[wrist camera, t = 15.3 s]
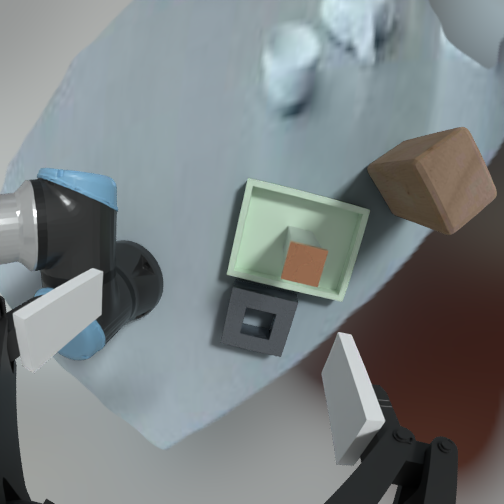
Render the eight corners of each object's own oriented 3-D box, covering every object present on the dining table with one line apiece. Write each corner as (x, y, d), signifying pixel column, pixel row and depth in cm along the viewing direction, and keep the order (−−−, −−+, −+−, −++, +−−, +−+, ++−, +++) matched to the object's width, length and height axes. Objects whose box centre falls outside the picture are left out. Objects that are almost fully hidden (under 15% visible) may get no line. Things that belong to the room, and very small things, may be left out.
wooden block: (363, 167, 47) (411, 163, 28) (405, 138, 45) (468, 122, 26) (392, 217, 49) (450, 240, 29) (433, 187, 46) (501, 196, 27)
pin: (280, 250, 51) (280, 278, 36) (287, 223, 50) (290, 242, 35) (307, 256, 51) (317, 287, 36) (314, 230, 50) (328, 251, 35)
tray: (229, 269, 53) (226, 274, 50) (249, 178, 49) (247, 178, 46) (339, 295, 53) (342, 301, 50) (365, 208, 49) (370, 210, 46)
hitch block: (224, 332, 56) (220, 342, 52) (236, 279, 54) (232, 287, 50) (280, 345, 56) (280, 356, 52) (296, 293, 53) (298, 302, 49)
